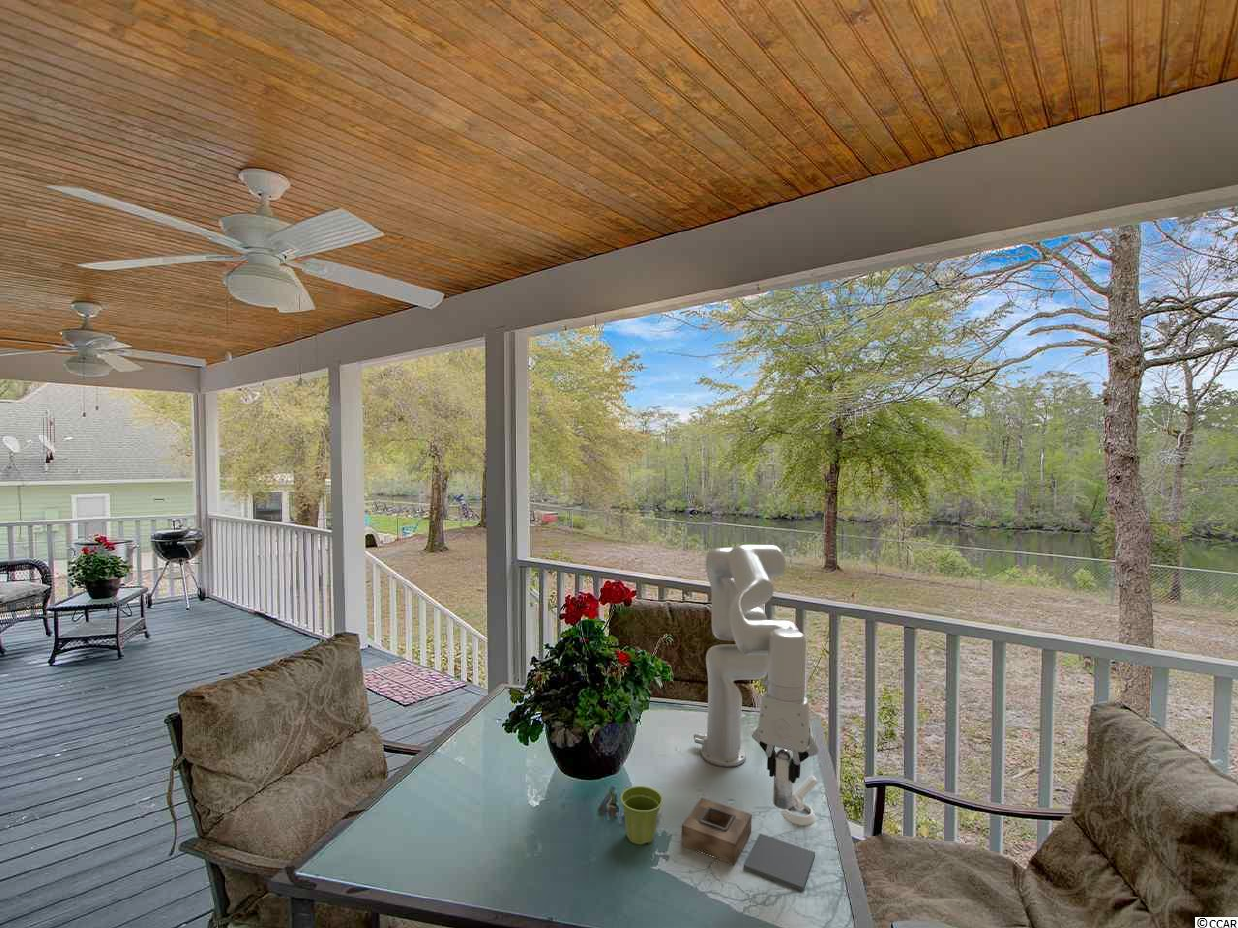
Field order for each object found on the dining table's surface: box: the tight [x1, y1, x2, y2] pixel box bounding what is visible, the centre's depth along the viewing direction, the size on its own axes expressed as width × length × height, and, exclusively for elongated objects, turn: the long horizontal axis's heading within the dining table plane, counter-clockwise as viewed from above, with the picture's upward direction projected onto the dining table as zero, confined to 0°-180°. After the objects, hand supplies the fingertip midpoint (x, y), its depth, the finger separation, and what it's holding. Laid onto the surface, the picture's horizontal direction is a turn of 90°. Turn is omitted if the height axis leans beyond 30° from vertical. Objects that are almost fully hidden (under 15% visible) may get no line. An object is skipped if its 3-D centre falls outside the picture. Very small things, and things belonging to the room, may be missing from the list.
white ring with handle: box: [781, 774, 818, 826], centre depth 140 cm, size 8×12×7 cm
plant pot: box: [620, 785, 663, 846], centre depth 131 cm, size 9×9×9 cm
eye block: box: [680, 797, 753, 866], centre depth 131 cm, size 12×12×5 cm
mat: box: [743, 833, 816, 892], centre depth 124 cm, size 12×12×1 cm
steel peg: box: [772, 748, 794, 810], centre depth 123 cm, size 4×4×11 cm
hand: (783, 775), depth 123 cm, fingers closed on steel peg, 3 cm apart
